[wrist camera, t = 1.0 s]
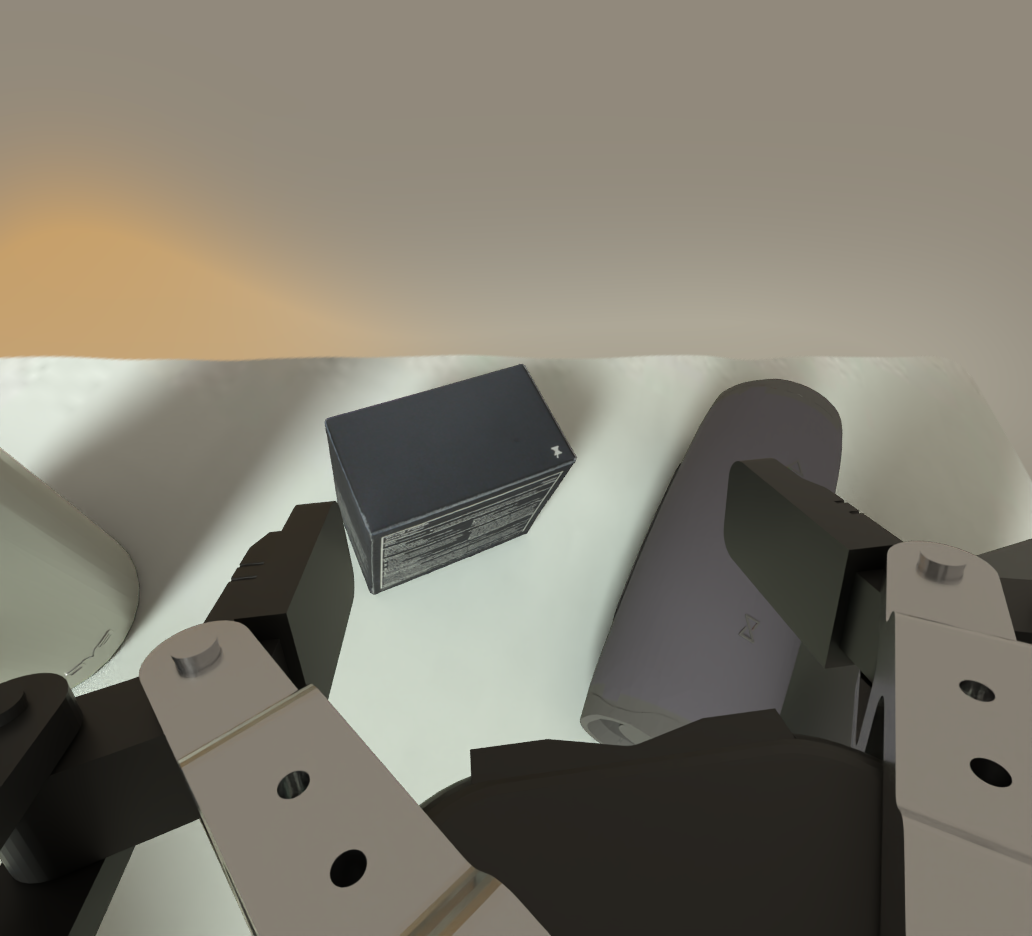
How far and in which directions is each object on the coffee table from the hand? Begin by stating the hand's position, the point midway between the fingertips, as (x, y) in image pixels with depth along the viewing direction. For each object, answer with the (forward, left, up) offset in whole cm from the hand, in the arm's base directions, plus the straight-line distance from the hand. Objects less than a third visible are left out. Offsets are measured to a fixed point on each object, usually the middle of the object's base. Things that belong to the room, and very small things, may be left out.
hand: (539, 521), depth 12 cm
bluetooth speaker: (+8, +14, -23) cm, 28 cm away
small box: (-6, +6, -23) cm, 25 cm away
